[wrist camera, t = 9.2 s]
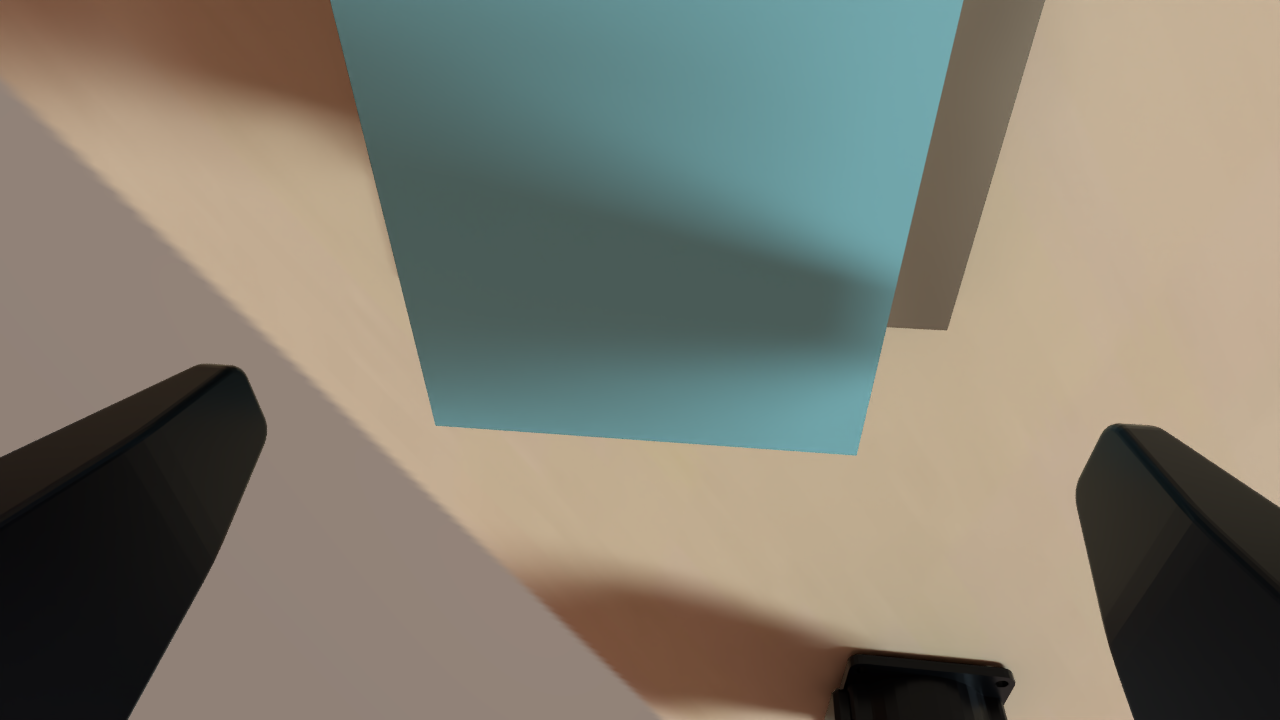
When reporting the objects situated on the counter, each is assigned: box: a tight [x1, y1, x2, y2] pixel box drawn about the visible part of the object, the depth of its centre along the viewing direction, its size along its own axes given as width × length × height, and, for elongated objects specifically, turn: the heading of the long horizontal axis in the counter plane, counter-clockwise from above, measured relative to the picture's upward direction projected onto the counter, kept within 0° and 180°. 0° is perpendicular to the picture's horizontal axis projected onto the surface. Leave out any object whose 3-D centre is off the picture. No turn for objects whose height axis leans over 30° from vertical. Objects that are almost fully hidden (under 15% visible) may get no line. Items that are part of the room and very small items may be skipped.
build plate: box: [887, 0, 1045, 330], centre depth 15 cm, size 14×14×4 cm
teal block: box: [330, 0, 963, 455], centre depth 11 cm, size 6×6×6 cm
